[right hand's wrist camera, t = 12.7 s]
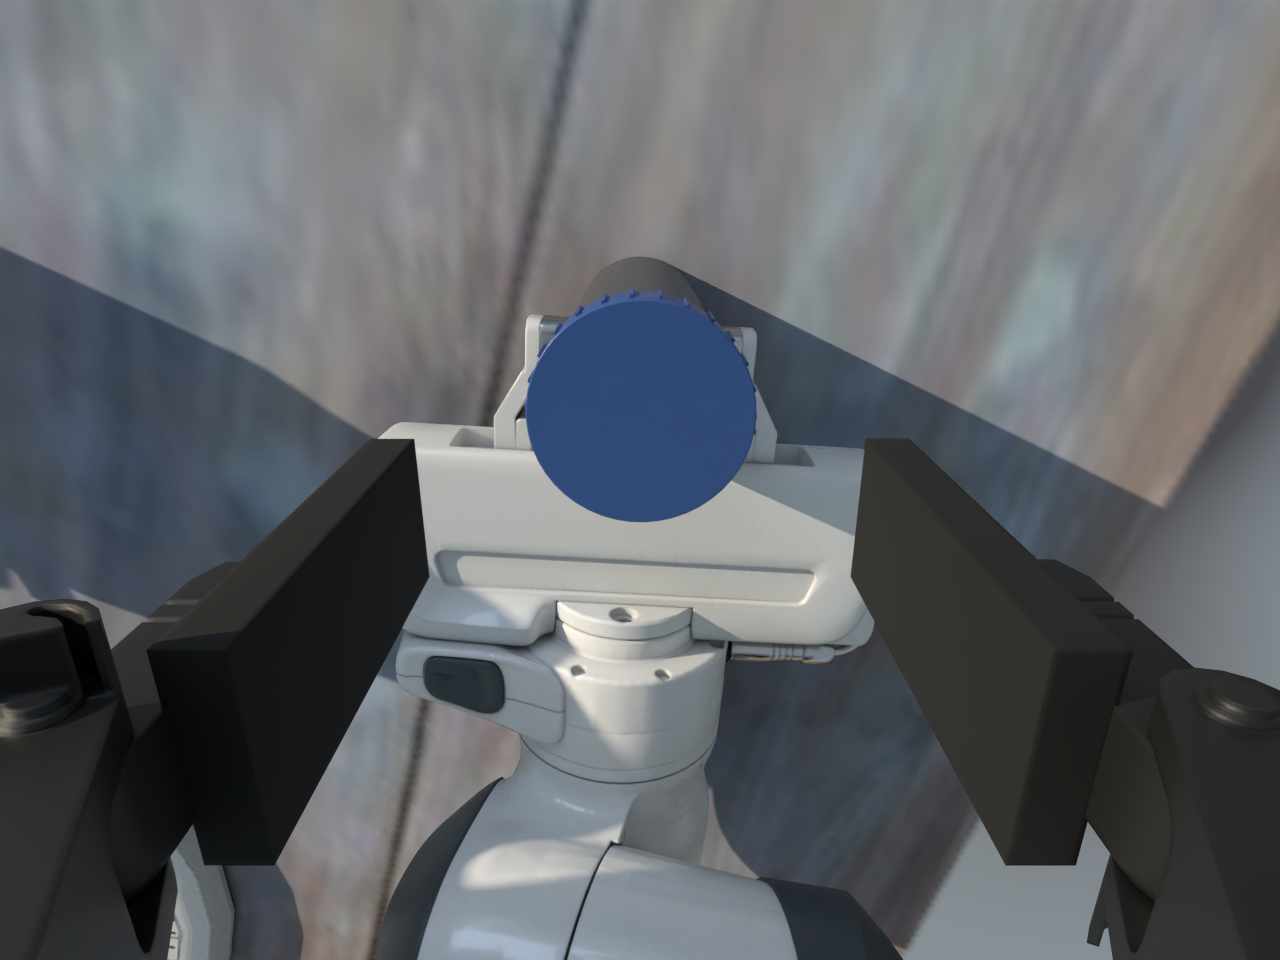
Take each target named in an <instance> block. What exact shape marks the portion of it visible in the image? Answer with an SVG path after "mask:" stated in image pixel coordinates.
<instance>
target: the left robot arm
mask: <svg viewBox="0 0 1280 960" xmlns="http://www.w3.org/2000/svg"><path fill="white" fill-rule="evenodd" d="M569 318H570V317H562V316H550V315H533V314H531V315H530V316H529V317H528V319H527V323H526V331H525V367H524V368H523V370H522V371H521V373H520V375H519V376H518V378H517V380H516V381H515V383H514V385H513V386H512V388H511V389H510V391H509V393H508V394H507V396H506V398H505V399H504V401H503V403H502V404H501V406H500V407H499V409H498V411H497V412H496V414H495V416H494V427H482V426H464V425H446V424H429V423H413V422H401V423H397V424H395V425H393V426H392V427H391V428H389V429H388V430H387V431H386V432H385V433H384V434H382V435H381V436H380V437H379V438H378V439H414V440H415V449H416V458H417V467H418V477H419V486H420V495H421V504H422V513H423V522H424V531H425V540H426V549H427V558H428V567H429V576H430V577H429V579H428V581H427V583H426V584H425V586H424V588H423V590H422V592H421V594H420V596H419V597H418V599H417V601H416V603H415V605H414V607H413V609H412V610H411V612H410V614H409V616H408V618H407V620H406V622H405V623H404V625H403V627H402V629H404V630H405V631H404V634H403V637H402V639H401V643H400V646H399V650H398V653H397V657H396V677H397V680H398V683H399V685H400V686H401V687H402V688H403V689H404V690H405V691H407V692H409V693H410V694H412V695H415V696H417V697H420V698H423V699H426V700H430V701H433V702H436V703H439V704H443V705H446V706H449V707H452V708H455V709H458V710H461V711H464V712H467V713H470V714H473V715H475V716H478V717H481V718H483V719H486V720H489V721H491V722H494V723H496V724H499V725H501V726H503V727H506V728H508V729H510V730H512V731H514V732H517V733H518V734H519V738H520V743H521V754H520V759H519V762H518V765H517V767H516V770H515V772H514V774H513V775H512V776H511V777H510V778H508V779H504V778H503V777H501V778H499V779H497V780H495V781H493V782H492V783H490V784H489V785H487V786H486V787H485V788H483V789H482V790H481V791H479V792H478V793H477V794H476V795H475V796H473V797H472V798H471V799H470V800H469V801H468V802H466V803H465V804H464V805H463V806H462V807H461V808H459V809H458V810H457V811H456V812H455V813H454V814H453V815H452V816H450V817H449V818H448V819H447V820H446V821H445V822H443V823H442V824H441V825H440V826H439V827H438V828H437V829H436V830H435V831H434V832H433V833H432V834H431V835H430V837H429V838H428V839H427V840H426V841H425V842H424V844H423V845H422V846H421V848H420V849H419V850H418V852H417V853H416V855H415V856H414V858H413V859H412V861H411V862H410V864H409V866H408V868H407V869H406V871H405V873H404V874H403V876H402V878H401V880H400V882H399V884H398V886H397V888H396V890H395V892H394V894H393V896H392V898H391V901H390V903H389V906H388V908H387V911H386V914H385V918H384V921H383V924H382V928H381V932H380V937H379V941H378V946H377V951H376V958H375V960H903V959H902V957H901V956H900V954H899V953H898V952H897V950H896V949H895V947H894V946H893V945H892V943H891V942H890V941H889V939H888V938H887V937H886V935H885V934H884V933H883V931H882V930H881V929H880V928H879V927H878V925H877V924H876V923H875V922H874V921H873V919H872V918H871V917H870V916H869V915H868V913H867V912H866V911H865V910H864V909H863V908H862V907H861V906H860V905H859V904H858V902H857V901H856V900H855V899H854V898H853V897H852V896H851V895H850V894H849V893H848V892H847V891H845V890H840V889H834V888H827V887H821V886H815V885H808V884H802V883H796V882H789V881H783V880H777V879H771V878H764V877H760V878H758V879H752V878H749V877H745V876H741V875H737V874H733V873H729V872H725V871H721V870H717V869H713V868H709V867H706V866H702V865H700V860H701V855H702V850H703V844H704V838H705V832H706V825H707V817H708V808H709V793H708V785H707V780H706V776H705V772H704V767H705V763H706V762H707V760H708V758H709V756H710V754H711V752H712V749H713V747H714V744H715V741H716V737H717V731H718V725H719V716H720V708H721V699H722V691H723V682H724V674H725V662H728V660H729V661H749V662H771V661H772V662H775V661H777V660H778V661H796V662H800V663H802V664H809V665H822V664H829V663H832V662H833V660H834V656H839V655H844V654H847V653H849V652H851V651H853V650H855V649H857V648H858V647H859V646H861V645H864V644H865V643H866V642H867V641H868V640H869V638H870V636H871V634H872V631H873V627H874V620H873V618H872V616H871V614H870V612H869V610H868V609H867V607H866V605H865V603H864V601H863V599H862V597H861V596H860V594H859V592H858V590H857V588H856V586H855V584H854V583H853V581H852V579H851V577H850V576H851V567H852V558H853V549H854V540H855V531H856V522H857V513H858V504H859V495H860V486H861V477H862V467H863V458H864V449H860V448H846V447H829V446H811V445H794V444H777V443H776V442H777V434H778V433H777V431H776V429H775V426H774V424H773V422H772V420H771V418H770V415H769V413H768V411H767V409H766V406H765V404H764V402H763V400H762V398H761V395H760V393H759V391H758V389H757V386H756V384H755V383H754V381H753V376H754V367H755V358H756V349H757V333H756V332H755V330H754V329H753V328H749V327H731V326H721V327H722V328H723V329H724V330H725V331H727V330H729V331H730V332H731V334H732V336H733V337H734V339H735V340H736V341H735V342H734V344H735V346H736V347H737V349H738V351H739V352H740V353H743V354H744V356H745V358H746V359H747V361H748V363H749V366H747V368H748V370H749V373H750V376H751V379H752V382H753V384H754V386H755V387H756V392H755V396H756V411H757V419H756V425H755V431H754V436H753V440H752V443H751V446H750V449H749V451H748V454H747V456H746V458H745V460H744V462H743V464H742V466H741V468H740V469H739V471H738V472H737V473H736V475H735V476H734V477H733V479H732V480H731V481H730V482H729V483H728V484H727V486H726V487H725V488H724V489H723V490H722V491H721V492H720V493H718V494H717V495H716V496H715V497H713V498H712V499H711V500H710V501H708V502H706V503H705V504H703V505H702V506H700V507H699V508H697V509H694V510H692V511H690V512H688V513H686V514H683V515H680V516H677V517H674V518H671V519H666V520H661V521H654V522H627V521H621V520H615V519H611V518H608V517H604V516H601V515H599V514H596V513H594V512H592V511H589V510H587V509H585V508H584V507H582V506H580V505H578V504H577V503H575V502H574V501H573V500H571V499H570V498H569V497H567V496H566V495H565V494H563V493H562V492H561V491H560V490H559V489H558V488H557V487H556V486H555V485H554V484H553V482H552V481H551V480H550V479H549V477H548V476H547V475H546V474H545V472H544V470H543V469H542V467H541V466H540V464H539V462H538V460H537V458H536V456H535V454H534V451H533V449H532V446H531V443H530V439H529V436H528V431H527V424H526V410H525V406H524V403H525V402H526V398H527V390H528V386H529V383H528V382H527V381H528V378H529V376H530V375H531V373H532V371H533V369H534V368H535V366H536V363H537V361H538V360H539V357H537V355H538V353H539V351H540V350H541V348H542V346H543V345H544V344H545V345H546V346H547V344H548V343H549V341H550V339H551V338H552V336H553V335H554V334H553V332H554V330H555V328H556V327H557V325H558V324H559V323H561V324H563V323H564V322H565V321H566V320H567V319H569ZM834 644H836V645H839V646H834Z"/></svg>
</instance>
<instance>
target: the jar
mask: <svg viewBox="0 0 1280 960" xmlns="http://www.w3.org/2000/svg"><path fill="white" fill-rule="evenodd" d="M631 288H634V291H650V292H658V289H659V290H662V293H664V294H668V295H671V296H675V297H678V298H681V299H683V300H684V298H685V297H686V298H688V299H689V301H690V303H692V304H694V305H695V306H697V307H699V308H700V309H702V310H703V311H705V310H704V308H703V306H702V304H701V302H700V300H699V298H698V296H697V295H696V293H695V291H694V289H693V287H692V285H691V284H690V282H689V281H688V280H687V279H686V277H685V276H684V275H683V274H682V273H681V272H680V271H678V270H677V269H676V268H674V267H673V266H671V265H670V264H668V263H666V262H663V261H661V260H658V259H654V258H649V257H632V258H627V259H623V260H620V261H618V262H615V263H613V264H611V265H610V266H608V267H606V268H605V269H604V270H602V271H601V272H600V273H599V274H598V275H597V276H596V277H595V278H594V280H593V281H592V282H591V284H590V285H589V287H588V289H587V290H586V292H585V294H584V296H583V298H582V300H581V302H580V304H579V306H582V307H585V306H587V305H589V304H590V303H592V302H594V301H596V300H599V299H601V298H602V295H603V294H607V296H610V295H614V294H619V293H623V292H630V289H631ZM579 306H578V307H579Z"/></svg>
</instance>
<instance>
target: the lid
mask: <svg viewBox="0 0 1280 960" xmlns="http://www.w3.org/2000/svg"><path fill="white" fill-rule="evenodd" d="M553 334H554V335H553V336H552V338H551V339H550V341H549V343H548V344H547V346H546V345H545V344H544V345H543V346H542V348H541V350H540V351H539V353H538V355H537V357H539V360H538V361H537V363H536V366H535V368H534V369H533V371H532V373H531V375H530V376H529V378H528V381H527V382H528V383H529V386H528V390H527V398H526V404H525V410H526V424H527V431H528V436H529V439H530V443H531V446H532V449H533V451H534V454H535V456H536V458H537V460H538V462H539V464H540V466H541V467H542V469H543V470H544V472H545V474H546V475H547V476H548V477H549V479H550V480H551V481H552V482H553V484H554V485H555V486H556V487H557V488H558V489H559V490H560V491H561V492H562V493H563V494H565V495H566V496H567V497H569V498H570V499H571V500H573V501H574V502H575V503H577V504H578V505H580V506H582V507H584V508H585V509H587V510H589V511H592V512H594V513H596V514H599V515H601V516H604V517H608V518H611V519H615V520H621V521H627V522H654V521H661V520H666V519H671V518H674V517H677V516H680V515H683V514H686V513H688V512H690V511H692V510H694V509H697V508H699V507H700V506H702V505H703V504H705V503H706V502H708V501H710V500H711V499H712V498H713V497H715V496H716V495H717V494H718V493H720V492H721V491H722V490H723V489H724V488H725V487H726V486H727V484H728V483H729V482H730V481H731V480H732V479H733V477H734V476H735V475H736V473H737V472H738V471H739V469H740V468H741V466H742V464H743V462H744V460H745V458H746V456H747V454H748V451H749V449H750V446H751V443H752V440H753V436H754V431H755V425H756V419H757V411H756V396H755V392H756V387H755V386H754V384H753V382H752V379H751V376H750V373H749V370H748V368H747V366H749V363H748V361H747V359H746V358H745V356H744V354H743V353H740V352H739V351H738V349H737V347H736V346H735V344H734V342H735V341H736V340H735V339H734V337H733V336H732V334H731V332H730V331H729V330H727V331H725V330H724V329H723V328H722V327H721V325H720V324H719V323H718V322H717V321H716V319H715V318H714V316H713V314H712V313H711V312H710V311H708V312H707V313H706V312H705V311H703V310H702V309H700V308H699V307H697V306H695V305H694V304H692V303H690V301H689V299H688V298H686V297H685V298H684V300H683V299H681V298H678V297H675V296H671V295H668V294H664V293H662V290H659V289H658V292H650V291H634V288H631V289H630V292H623V293H619V294H614V295H610V296H607V294H603V295H602V298H601V299H599V300H596V301H594V302H592V303H590V304H589V305H587V306H585V307H582V306H579V307H578V308H577V310H576V312H575V314H573V315H572V316H571V317H570V318H569V319H567V320H566V321H565V322H564V323H563V324H561V323H559V324H558V325H557V327H556V328H555V330H554V332H553Z"/></svg>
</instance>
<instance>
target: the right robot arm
mask: <svg viewBox="0 0 1280 960" xmlns="http://www.w3.org/2000/svg"><path fill="white" fill-rule="evenodd" d="M429 577H430V576H429V567H428V558H427V549H426V540H425V531H424V522H423V513H422V504H421V495H420V486H419V477H418V467H417V458H416V449H415V440H414V439H370V440H369V441H368V442H367V443H366V444H365V445H364V446H363V447H362V448H361V449H360V450H359V451H358V452H357V453H355V454H354V455H353V456H352V457H351V458H350V459H349V460H348V461H347V462H346V463H345V464H344V465H343V466H342V467H341V468H340V469H338V470H337V471H336V472H335V473H334V474H333V475H332V476H331V477H330V478H329V479H328V480H327V481H326V482H325V483H324V484H322V485H321V486H320V487H319V488H318V489H317V490H316V491H315V492H314V493H313V494H312V495H311V496H310V497H309V498H308V499H307V500H305V501H304V502H303V503H302V504H301V505H300V506H299V507H298V508H297V509H296V510H295V511H294V512H293V513H292V514H291V515H290V516H288V517H287V518H286V519H285V520H284V521H283V522H282V523H281V524H280V525H279V526H278V527H277V528H276V529H275V530H274V531H272V532H271V533H270V534H269V535H268V536H267V537H266V538H265V539H264V540H263V541H262V542H261V543H260V544H259V545H258V546H257V547H255V548H254V549H253V550H252V551H251V552H250V553H249V554H248V555H247V556H246V557H245V558H244V559H243V560H242V561H241V562H225V563H223V564H221V565H219V566H217V567H215V568H213V569H211V570H209V571H207V572H205V573H203V574H201V575H199V576H197V577H195V578H193V579H191V580H190V581H189V582H188V583H187V584H185V585H184V586H183V587H182V588H181V589H180V590H179V591H177V592H176V593H175V594H174V595H173V596H172V597H171V598H169V599H168V600H167V605H161V606H160V607H159V608H158V609H157V610H156V611H155V612H153V613H152V614H151V615H150V616H149V617H148V618H147V622H142V623H141V624H140V625H139V626H137V627H136V628H135V629H134V630H133V631H132V632H131V633H130V634H128V635H127V636H126V637H125V638H124V639H123V640H122V641H120V642H119V643H118V644H117V645H116V646H115V647H114V648H112V649H110V646H109V642H108V639H107V635H106V632H105V628H104V625H103V621H102V618H101V615H100V611H99V608H97V607H95V606H94V605H92V604H90V603H88V602H87V601H79V600H70V599H57V600H47V601H36V602H31V603H27V604H22V605H18V606H14V607H9V608H5V609H1V610H0V960H167V958H168V952H169V945H170V939H171V932H172V926H173V919H174V913H175V906H176V900H177V893H178V887H177V881H176V874H175V871H174V867H173V864H172V860H171V857H170V856H171V855H172V854H173V852H174V851H175V849H176V848H177V846H178V845H179V844H180V842H181V841H182V839H183V838H184V836H185V835H186V834H187V832H188V831H189V829H190V828H191V826H192V825H194V829H195V833H196V836H197V840H198V844H199V848H200V851H201V855H202V859H203V862H204V865H275V863H276V861H277V859H278V858H279V856H280V854H281V852H282V850H283V848H284V846H285V845H286V843H287V841H288V839H289V837H290V835H291V833H292V832H293V830H294V828H295V826H296V824H297V822H298V820H299V819H300V817H301V815H302V813H303V811H304V809H305V807H306V806H307V804H308V802H309V800H310V798H311V796H312V794H313V793H314V791H315V789H316V787H317V785H318V783H319V781H320V780H321V778H322V776H323V774H324V772H325V770H326V768H327V767H328V765H329V763H330V761H331V759H332V757H333V755H334V754H335V752H336V750H337V748H338V746H339V744H340V742H341V741H342V739H343V737H344V735H345V733H346V731H347V729H348V728H349V726H350V724H351V722H352V720H353V718H354V716H355V714H356V713H357V711H358V709H359V707H360V705H361V703H362V701H363V700H364V698H365V696H366V694H367V692H368V690H369V688H370V687H371V685H372V683H373V681H374V679H375V677H376V675H377V674H378V672H379V670H380V668H381V666H382V664H383V662H384V661H385V659H386V657H387V655H388V653H389V651H390V649H391V648H392V646H393V644H394V642H395V640H396V638H397V636H398V635H399V633H400V631H401V629H402V627H403V625H404V623H405V622H406V620H407V618H408V616H409V614H410V612H411V610H412V609H413V607H414V605H415V603H416V601H417V599H418V597H419V596H420V594H421V592H422V590H423V588H424V586H425V584H426V583H427V581H428V579H429ZM850 577H851V579H852V581H853V583H854V584H855V586H856V588H857V590H858V592H859V594H860V596H861V597H862V599H863V601H864V603H865V605H866V607H867V609H868V610H869V612H870V614H871V616H872V618H873V620H874V622H875V623H876V625H877V627H878V629H879V631H880V633H881V635H882V636H883V638H884V640H885V642H886V644H887V646H888V648H889V649H890V651H891V653H892V655H893V657H894V659H895V661H896V662H897V664H898V666H899V668H900V670H901V672H902V674H903V675H904V677H905V679H906V681H907V683H908V685H909V687H910V688H911V690H912V692H913V694H914V696H915V698H916V700H917V701H918V703H919V705H920V707H921V709H922V711H923V713H924V715H925V716H926V718H927V720H928V722H929V724H930V726H931V728H932V729H933V731H934V733H935V735H936V737H937V739H938V741H939V742H940V744H941V746H942V748H943V750H944V752H945V754H946V755H947V757H948V759H949V761H950V763H951V765H952V767H953V768H954V770H955V772H956V774H957V776H958V778H959V780H960V781H961V783H962V785H963V787H964V789H965V791H966V793H967V794H968V796H969V798H970V800H971V802H972V804H973V806H974V807H975V809H976V811H977V813H978V815H979V817H980V819H981V820H982V822H983V824H984V826H985V828H986V830H987V832H988V833H989V835H990V837H991V839H992V841H993V843H994V845H995V846H996V848H997V850H998V852H999V854H1000V856H1001V857H1002V859H1003V861H1004V863H1005V865H1076V862H1077V858H1078V855H1079V851H1080V848H1081V844H1082V840H1083V836H1084V833H1085V829H1086V825H1087V822H1089V824H1090V825H1091V827H1092V828H1093V829H1094V831H1095V832H1096V834H1097V835H1098V837H1099V838H1100V839H1101V841H1102V842H1103V844H1104V845H1105V846H1106V848H1107V849H1108V851H1109V852H1110V857H1109V860H1108V864H1107V867H1106V871H1105V874H1104V878H1103V881H1102V884H1101V888H1100V891H1099V895H1098V898H1097V902H1096V905H1095V909H1094V912H1093V916H1092V919H1091V923H1090V926H1089V933H1088V939H1087V943H1089V944H1092V945H1095V946H1099V944H1100V941H1101V938H1102V934H1103V931H1104V929H1106V928H1107V927H1108V930H1109V936H1110V943H1111V949H1112V956H1113V960H1280V690H1278V689H1275V688H1273V687H1271V686H1268V685H1266V684H1264V683H1261V682H1259V681H1257V680H1254V679H1251V678H1247V677H1244V676H1240V675H1236V674H1233V673H1229V672H1225V671H1220V670H1211V669H1202V668H1194V667H1193V666H1192V665H1190V664H1189V663H1188V662H1187V661H1186V660H1185V659H1184V658H1182V657H1181V656H1180V655H1179V654H1178V653H1177V652H1175V651H1174V650H1173V649H1172V648H1171V647H1170V646H1169V645H1167V644H1166V643H1165V642H1164V641H1163V640H1162V639H1161V638H1159V637H1158V636H1157V635H1156V634H1155V633H1154V632H1152V631H1151V630H1150V629H1149V628H1148V627H1147V626H1146V625H1144V624H1143V623H1142V622H1141V621H1140V620H1138V619H1136V620H1135V619H1134V618H1133V616H1134V615H1133V614H1132V613H1131V612H1129V611H1128V610H1127V609H1126V608H1125V607H1124V606H1123V605H1121V604H1120V603H1119V602H1114V598H1113V597H1112V596H1111V595H1110V594H1109V593H1108V592H1106V591H1105V590H1104V589H1103V588H1102V587H1101V586H1100V585H1098V584H1097V583H1096V582H1095V581H1094V580H1093V579H1092V578H1090V577H1089V576H1087V575H1085V574H1083V573H1081V572H1079V571H1077V570H1075V569H1073V568H1071V567H1069V566H1067V565H1065V564H1063V563H1061V562H1059V561H1057V560H1037V559H1036V558H1035V557H1034V556H1033V555H1032V554H1031V553H1030V552H1029V551H1028V550H1027V549H1026V548H1025V547H1023V546H1022V545H1021V544H1020V543H1019V542H1018V541H1017V540H1016V539H1015V538H1014V537H1013V536H1012V535H1011V534H1010V533H1009V532H1008V531H1006V530H1005V529H1004V528H1003V527H1002V526H1001V525H1000V524H999V523H998V522H997V521H996V520H995V519H994V518H993V517H992V516H990V515H989V514H988V513H987V512H986V511H985V510H984V509H983V508H982V507H981V506H980V505H979V504H978V503H977V502H976V501H975V500H973V499H972V498H971V497H970V496H969V495H968V494H967V493H966V492H965V491H964V490H963V489H962V488H961V487H960V486H959V485H958V484H956V483H955V482H954V481H953V480H952V479H951V478H950V477H949V476H948V475H947V474H946V473H945V472H944V471H943V470H942V469H940V468H939V467H938V466H937V465H936V464H935V463H934V462H933V461H932V460H931V459H930V458H929V457H928V456H927V455H926V454H925V453H923V452H922V451H921V450H920V449H919V448H918V447H917V446H916V445H915V444H914V443H913V442H912V441H911V440H910V439H866V440H865V449H864V458H863V467H862V477H861V486H860V495H859V504H858V513H857V522H856V531H855V540H854V549H853V558H852V567H851V576H850Z"/></svg>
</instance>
